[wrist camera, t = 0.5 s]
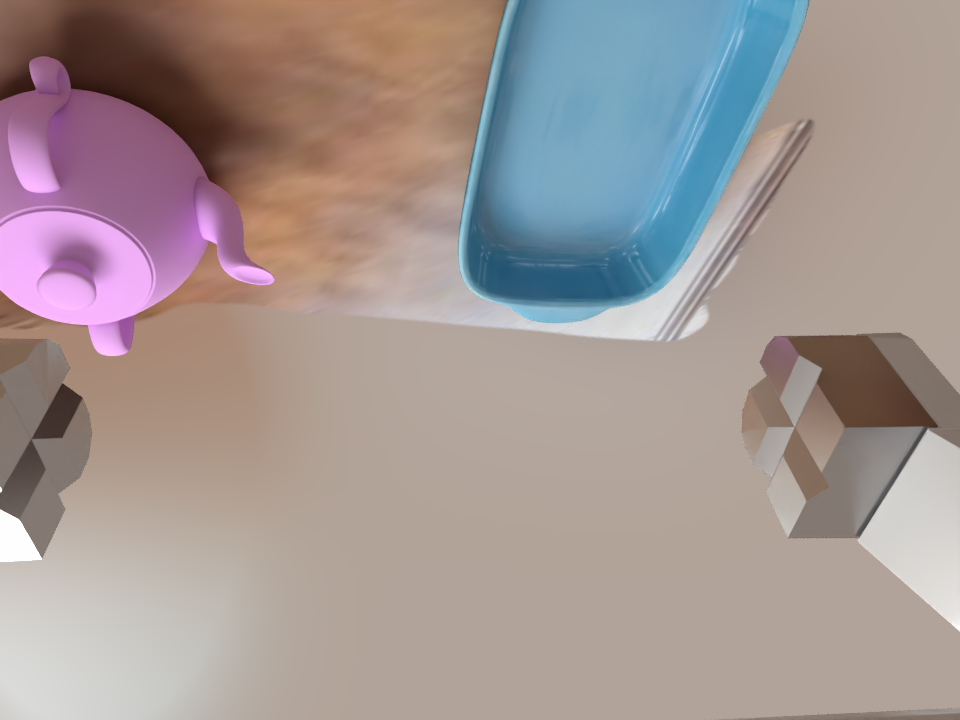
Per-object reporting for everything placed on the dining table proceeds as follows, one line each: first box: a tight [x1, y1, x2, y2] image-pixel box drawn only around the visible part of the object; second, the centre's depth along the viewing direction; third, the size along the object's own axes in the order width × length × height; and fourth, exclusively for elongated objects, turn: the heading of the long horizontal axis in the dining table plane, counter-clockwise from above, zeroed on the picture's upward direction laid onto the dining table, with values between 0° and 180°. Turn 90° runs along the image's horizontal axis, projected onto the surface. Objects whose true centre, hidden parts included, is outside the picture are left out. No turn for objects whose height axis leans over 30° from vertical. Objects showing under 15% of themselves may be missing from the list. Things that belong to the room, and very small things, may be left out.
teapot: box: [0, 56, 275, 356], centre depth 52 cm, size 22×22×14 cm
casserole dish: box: [458, 0, 809, 323], centre depth 58 cm, size 37×22×7 cm, turn 169°
